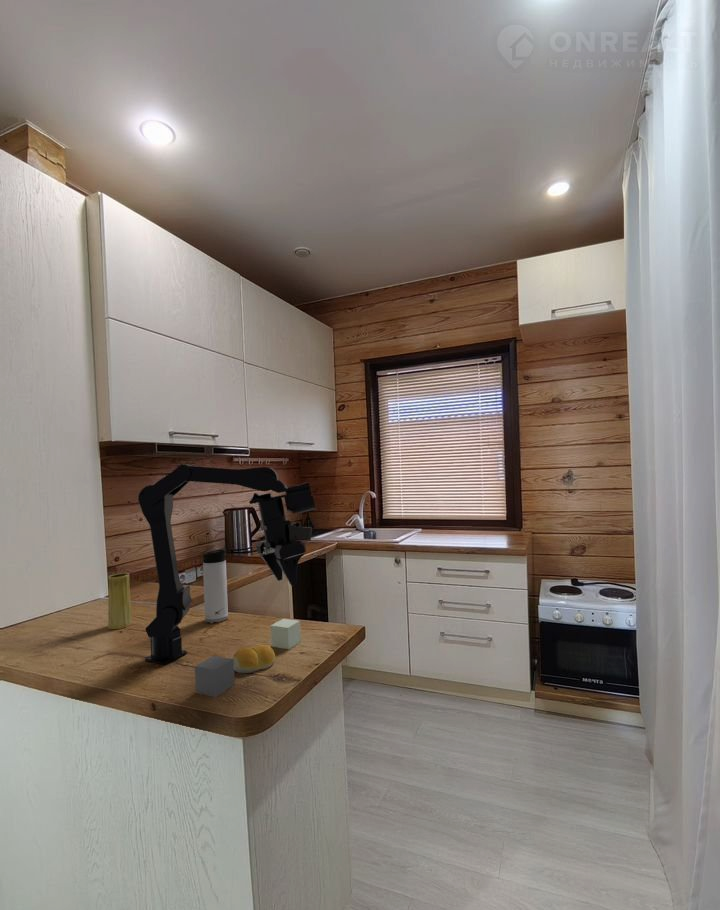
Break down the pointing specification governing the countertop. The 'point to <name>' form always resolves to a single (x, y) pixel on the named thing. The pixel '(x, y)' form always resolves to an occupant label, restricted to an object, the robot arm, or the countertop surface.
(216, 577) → the travel mug
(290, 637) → the sage block
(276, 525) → the robot arm
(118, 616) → the vase
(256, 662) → the bread roll
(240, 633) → the countertop surface
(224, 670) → the charcoal block
